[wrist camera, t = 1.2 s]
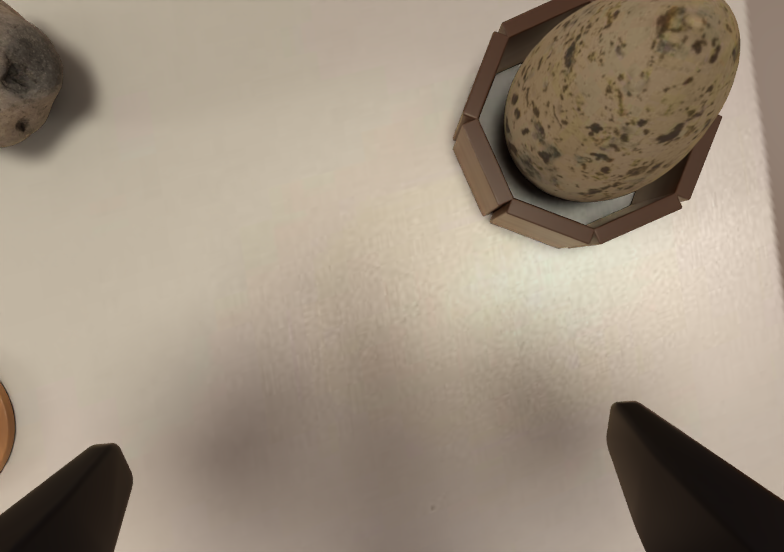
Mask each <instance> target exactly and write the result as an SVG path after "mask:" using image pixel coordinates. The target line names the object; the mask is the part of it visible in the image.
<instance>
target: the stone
mask: <svg viewBox="0 0 784 552" xmlns="http://www.w3.org/2000/svg"><path fill="white" fill-rule="evenodd" d="M62 82H63V67H62V63H61V60H60V58H59V55H58V54H57V52H56V50H55V49H54V47H53V45H52V43H51V42H50V40H49V39H48V38H47V36H46V35H45V34H44V33H42V32H41V31H40V30H39V29H38V28H37V27H35V26H34V25H32V24H31V23H29V22H28V21H26V20H25V19H24V18H23V17H22V16H21V15H20V14H19V13H18V12H16V11H15V10H14V9H13V8H11V7H10V6H9V5H8V4H6V3H5V2H4V1H2V0H0V148H2V147H7V146H12V145H15V144H17V143H19V142H21V141H23V140H25V139H26V138H27V137H28V136H30V135H31V134H32V133H34V132H36V131H37V130H38V129H39V128H41V126H42V125H43V124H44V123H45V122H46V120H47V118H48V115H49V113H50V110H51V107H52V104H53V102H54V100H55V98H56V96H57V94H58V93H59V91H60V89H61V86H62Z"/></svg>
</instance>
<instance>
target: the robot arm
mask: <svg viewBox="0 0 784 552" xmlns="http://www.w3.org/2000/svg"><path fill="white" fill-rule="evenodd" d="M607 446H608V450H609V453H610V455H611V458H612V461H613V464H614V467H615V470H616V473H617V476H618V479H619V482H620V485H621V488H622V490H623V493H624V496H625V499H626V502H627V505H628V508H629V511H630V514H631V517H632V519H633V522H634V525H635V527H636V530H637V533H638V535H639V537H640V539H641V542H642V544H643V546H644V548H645V551H646V552H784V500H782V499H781V498H779V497H778V496H776V495H775V494H773V493H772V492H770V491H769V490H767V489H766V488H764V487H763V486H762V485H760V484H759V483H757V482H756V481H754V480H753V479H751V478H750V477H748V476H747V475H745V474H744V473H742V472H741V471H739V470H738V469H736V468H735V467H734V466H732V465H731V464H729V463H728V462H726V461H725V460H723V459H722V458H720V457H719V456H717V455H716V454H714V453H713V452H711V451H710V450H709V449H707V448H706V447H704V446H703V445H701V444H700V443H698V442H697V441H695V440H694V439H692V438H691V437H689V436H688V435H686V434H685V433H683V432H682V431H681V430H679V429H678V428H676V427H675V426H673V425H672V424H670V423H669V422H667V421H666V420H664V419H663V418H661V417H660V416H658V415H657V414H656V413H654V412H653V411H651V410H650V409H648V408H647V407H645V406H644V405H642V404H641V403H639V402H637V401H624V402H615V403H613V404H612V406H611V409H610V416H609V422H608V429H607ZM132 485H133V476H132V472H131V470H130V468H129V466H128V464H127V461H126V459H125V457H124V455H123V453H122V451H121V449H120V447H119V446H118V445H117V444H114V443H107V444H96V445H92V446H90V447H89V448H87V449H86V450H85V451H84V452H82V453H81V454H80V455H78V456H77V457H76V458H74V459H73V460H72V461H70V462H69V463H68V464H66V465H65V466H64V467H63V468H61V469H60V470H59V471H57V472H56V473H55V474H53V475H52V476H51V477H49V478H48V479H47V480H46V481H44V482H43V483H42V484H40V485H39V486H38V487H36V488H35V489H34V490H32V491H31V492H30V493H28V494H27V495H26V496H25V497H23V498H22V499H21V500H19V501H18V502H17V503H15V504H14V505H13V506H11V507H10V508H9V509H8V510H6V511H5V512H4V513H2V514H1V515H0V552H114V549H115V546H116V542H117V539H118V535H119V532H120V528H121V525H122V521H123V518H124V514H125V511H126V507H127V504H128V500H129V497H130V493H131V490H132Z"/></svg>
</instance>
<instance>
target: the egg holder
mask: <svg viewBox="0 0 784 552" xmlns="http://www.w3.org/2000/svg"><path fill="white" fill-rule="evenodd" d="M594 1H596V0H551V1H549V2H547V3H545V4H542V5H540V6H538V7H536V8H534V9H531V10H529V11H527V12H525V13H523V14H520V15H518V16H516V17H514V18H512V19H509V20H507V21H505V22H503V23H502V24H501V26H500V29H499V31H498V32H494V33H493V34H492V37H491V40H490V42H489V45H488V47H487V50H486V53H485V55H484V58H483V60H482V63H481V66H480V68H479V71H478V74H477V76H476V79H475V81H474V84H473V87H472V89H471V92H470V94H469V97H468V100H467V102H466V105H465V107H464V110H463V113H462V115H461V118H460V121H459V123H458V126H457V129H456V131H455V134H454V137H453V140H455V141H456V142H455V145H454V147H453V150H454V153H455V155H456V157H457V159H458V161H459V164H460V166H461V168H462V170H463V173H464V175H465V177H466V179H467V182H468V184H469V186H470V188H471V191H472V193H473V195H474V197H475V200H476V202H477V204H478V206H479V209H480V211H481V213H482V215H483V216H485V215H488V214H490V213H492V212H493V214H492V217H491V219H490V223H492V224H495V225H497V226H500V227H503V228H505V229H508V230H511V231H513V232H516V233H519V234H521V235H524V236H526V237H529V238H532V239H534V240H537V241H540V242H542V243H545V244H547V245H550V246H553V247H555V248H558V249H560V248H576V247H584V246H591V245H599V244H603V243H605V242H607V241H609V240H612V239H614V238H616V237H618V236H621V235H623V234H625V233H627V232H630V231H632V230H634V229H636V228H639V227H641V226H643V225H645V224H648V223H650V222H652V221H655V220H657V219H659V218H661V217H664V216H666V215H668V214H670V213H673V212H675V211H677V210H679V209H681V208H682V205H681V203H680V202H683V201H687V200H689V199H690V198H691V195H692V193H693V190H694V188H695V185H696V183H697V180H698V178H699V175H700V172H701V170H702V167H703V165H704V162H705V160H706V157H707V155H708V152H709V150H710V147H711V144H712V142H713V139H714V137H715V134H716V132H717V129H718V127H719V124H720V122H721V119H722V116H720V115H717V117H716V118H715V120H714V121H713V123H712V124H711V126H710V127H709V129H708V130H707V131H706V133H705V134H704V135H703V137H702V138H701V139H700V140H699V142H698V143H697V144H696V145H695V146H694V147H693V148H692V150H691V151H690V152H689V153H688V154H687V155H686V156H685V157H684V158H683V159H682V160H681V161H680V162H679V163H677V164H676V165H675V166H674V167H673V168H672V169H670V170H669V171H668V172H666V173H665V174H664V175H662V176H661V177H659V178H658V179H657V180H655V181H653V182H652V183H650V184H648V185H646V186H645V187H643V188H641V189H639V190H637V191H636V193H635V195H634V198H633V200H632V203H631V205H630V206H628V207H626V208H623V209H621V210H619V211H617V212H614V213H612V214H610V215H608V216H605V217H603V218H601V219H599V220H596V221H594V222H592V223H590V224H587V225H584V224H581V223H579V222H576V221H573V220H571V219H568V218H565V217H563V216H560V215H557V214H555V213H552V212H550V211H547V210H544V209H542V208H539V207H536V206H534V205H531V204H528V203H526V202H523V201H521V200H518V199H515V198H513V196H512V193H511V191H510V189H509V187H508V184H507V182H506V180H505V178H504V175H503V173H502V171H501V169H500V166H499V164H498V162H497V160H496V157H495V155H494V153H493V151H492V148H491V146H490V144H489V142H488V139H487V137H486V135H485V133H484V131H483V128H482V126H481V124H480V122H479V117H480V114H481V111H482V109H483V106H484V103H485V101H486V98H487V96H488V93H489V90H490V88H491V85H492V83H493V80H494V77H495V75H496V74H497V73H499V72H501V71H503V70H506V69H508V68H510V67H512V66H514V65H517V64H519V63H521V62H523V61H524V60H525V59H526V57H527V56H528V55H529V53H530V52H531V51H532V49H533V48H534V47H535V46H536V45H537V44H538V43H539V42H540V41H541V40H542V38H543V37H544V36H545V35H546V34H548V33H549V32H550V31H551V30H552V29H553V28H554V27H555V26H557V25H558V24H559V23H560V22H562V21H563V20H564V19H566V18H567V17H569V16H570V15H571V14H573V13H574V12H576V11H578V10H579V9H581V8H583V7H584V6H586V5H588V4H590V3H592V2H594Z"/></svg>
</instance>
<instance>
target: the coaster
mask: <svg viewBox="0 0 784 552" xmlns="http://www.w3.org/2000/svg"><path fill="white" fill-rule="evenodd" d="M14 435H15V422H14V414H13V409H12V405H11V403H10V400H9V397H8V395H7V393H6V391H5V389H4V388H3V386H2V385H1V383H0V472H1V470H2V469H3V467H4V465H5V464H6V462H7V460H8V457H9V455H10V453H11V449H12V446H13V441H14Z"/></svg>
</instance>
